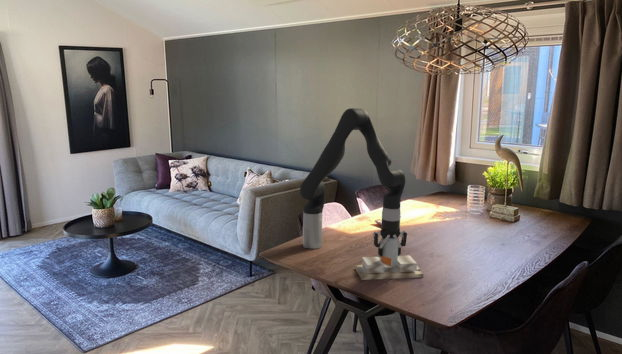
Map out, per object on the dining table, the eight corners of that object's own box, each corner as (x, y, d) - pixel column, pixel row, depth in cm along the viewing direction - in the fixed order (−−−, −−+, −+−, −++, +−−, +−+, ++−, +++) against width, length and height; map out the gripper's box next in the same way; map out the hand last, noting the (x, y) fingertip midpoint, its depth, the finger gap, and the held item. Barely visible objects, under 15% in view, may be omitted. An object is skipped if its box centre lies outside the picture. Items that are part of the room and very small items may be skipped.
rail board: (361, 279, 190) (362, 266, 189) (355, 268, 202) (355, 256, 201) (423, 277, 193) (424, 264, 192) (413, 266, 205) (414, 254, 204)
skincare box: (379, 263, 198) (381, 236, 195) (386, 261, 201) (387, 234, 198) (391, 267, 193) (393, 240, 191) (397, 265, 196) (399, 237, 194)
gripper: (404, 214, 197) (402, 252, 201) (371, 215, 196) (370, 253, 199) (410, 220, 190) (408, 258, 194) (376, 220, 188) (374, 259, 192)
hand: (389, 255), depth 196 cm, fingers closed on skincare box, 6 cm apart
